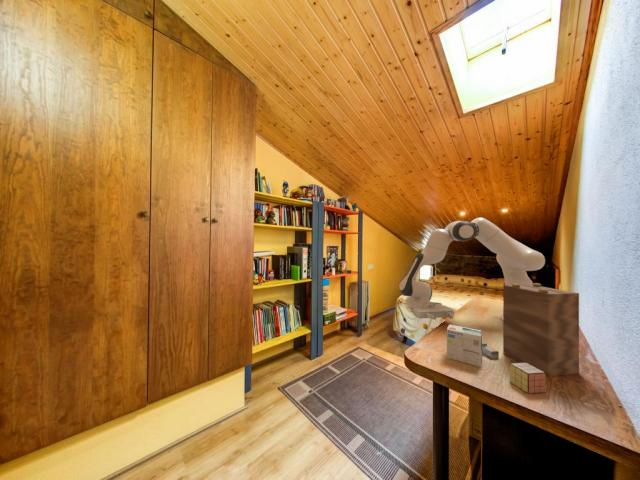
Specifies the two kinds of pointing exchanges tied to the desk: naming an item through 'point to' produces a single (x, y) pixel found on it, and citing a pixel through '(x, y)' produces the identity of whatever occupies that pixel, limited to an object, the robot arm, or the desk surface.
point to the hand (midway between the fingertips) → (443, 317)
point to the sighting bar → (489, 351)
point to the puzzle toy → (527, 377)
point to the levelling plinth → (542, 328)
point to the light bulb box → (464, 345)
